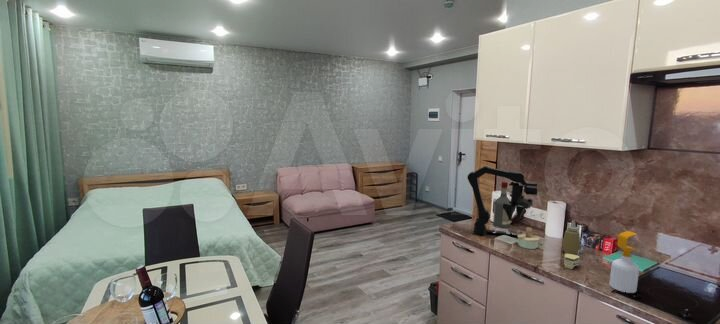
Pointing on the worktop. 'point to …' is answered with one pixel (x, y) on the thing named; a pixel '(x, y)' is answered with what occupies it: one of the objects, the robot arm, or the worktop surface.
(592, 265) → the worktop surface
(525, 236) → the lid
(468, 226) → the worktop surface
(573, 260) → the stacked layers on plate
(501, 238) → the mat
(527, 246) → the bowl
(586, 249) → the worktop surface
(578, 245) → the squeeze bottle
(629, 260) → the soap bottle
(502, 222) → the liquor
